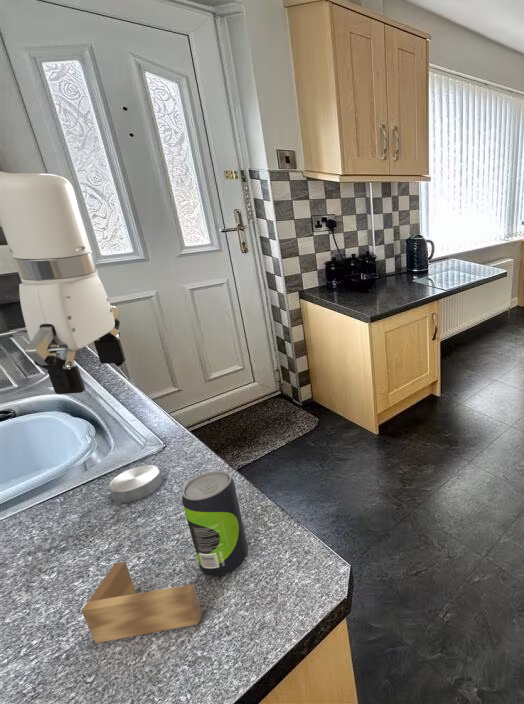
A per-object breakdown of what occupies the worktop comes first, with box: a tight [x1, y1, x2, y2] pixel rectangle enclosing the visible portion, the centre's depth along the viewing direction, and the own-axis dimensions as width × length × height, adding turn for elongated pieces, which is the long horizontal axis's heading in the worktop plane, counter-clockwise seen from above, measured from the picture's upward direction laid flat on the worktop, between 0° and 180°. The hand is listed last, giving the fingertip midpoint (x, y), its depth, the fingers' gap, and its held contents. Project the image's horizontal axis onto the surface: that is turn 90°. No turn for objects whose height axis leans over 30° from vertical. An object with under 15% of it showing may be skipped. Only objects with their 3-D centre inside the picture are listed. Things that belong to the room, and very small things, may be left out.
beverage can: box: [181, 470, 249, 577], centre depth 63 cm, size 6×6×15 cm
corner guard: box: [81, 561, 203, 644], centre depth 57 cm, size 12×7×6 cm, turn 104°
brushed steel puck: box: [108, 464, 163, 504], centre depth 78 cm, size 7×7×2 cm
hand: (93, 376), depth 64 cm, fingers open, 9 cm apart
